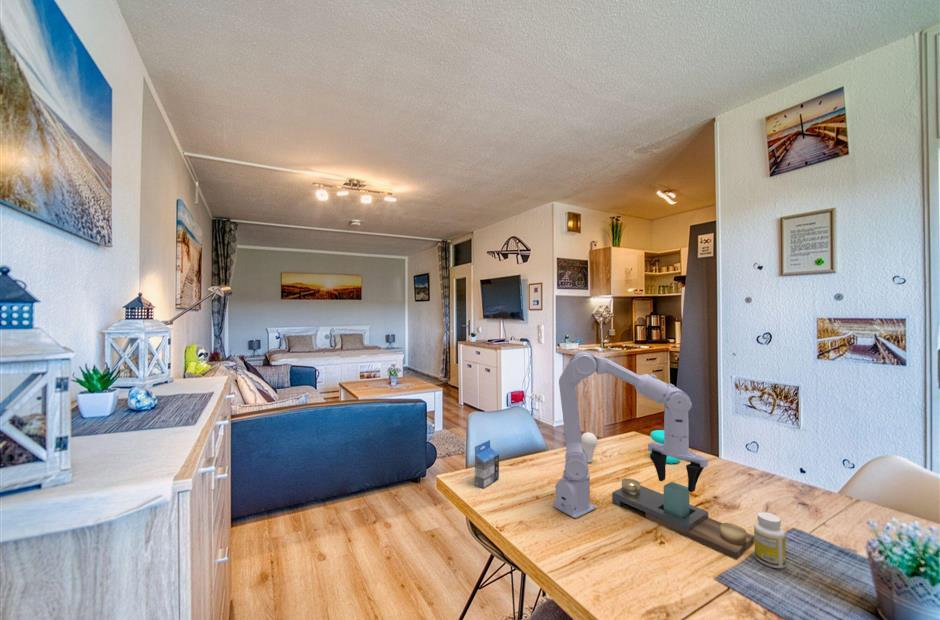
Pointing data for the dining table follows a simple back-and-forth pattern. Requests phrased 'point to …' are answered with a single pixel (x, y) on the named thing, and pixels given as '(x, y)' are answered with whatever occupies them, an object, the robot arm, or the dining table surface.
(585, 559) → the dining table surface
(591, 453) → the lightbulb
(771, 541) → the supplement bottle
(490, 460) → the label tape cartridge
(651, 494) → the metal link
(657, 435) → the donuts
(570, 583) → the dining table surface
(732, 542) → the walnut link
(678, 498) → the block
